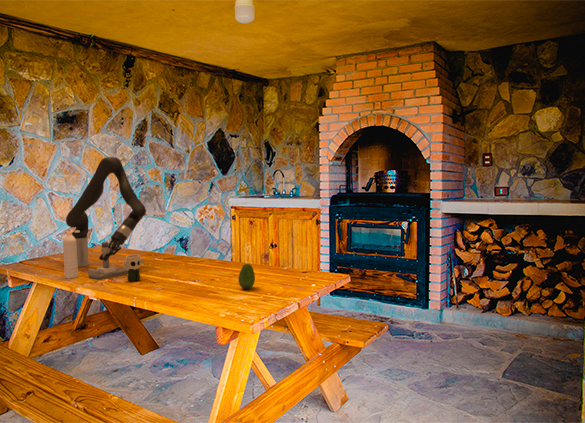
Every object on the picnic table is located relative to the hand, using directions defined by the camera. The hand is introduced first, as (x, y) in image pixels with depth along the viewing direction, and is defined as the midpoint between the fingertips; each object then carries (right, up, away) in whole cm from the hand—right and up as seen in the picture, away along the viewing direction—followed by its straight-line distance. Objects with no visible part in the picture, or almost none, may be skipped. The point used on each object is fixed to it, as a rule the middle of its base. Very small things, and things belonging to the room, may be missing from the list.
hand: (102, 259), depth 229 cm
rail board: (+4, -9, +6) cm, 12 cm away
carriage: (+1, -7, +2) cm, 7 cm away
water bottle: (-16, -10, +2) cm, 19 cm away
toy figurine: (+20, -10, -8) cm, 24 cm away
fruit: (+81, -11, -27) cm, 86 cm away
